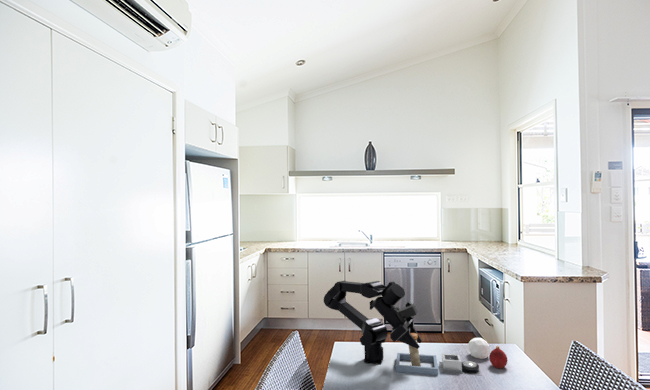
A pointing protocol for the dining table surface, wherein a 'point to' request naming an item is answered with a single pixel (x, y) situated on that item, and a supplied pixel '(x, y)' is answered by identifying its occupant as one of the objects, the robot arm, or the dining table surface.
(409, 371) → the tray
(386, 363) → the dining table surface
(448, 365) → the grey piece
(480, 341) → the ball
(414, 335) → the orange-brown round-topped piece
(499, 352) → the onion
